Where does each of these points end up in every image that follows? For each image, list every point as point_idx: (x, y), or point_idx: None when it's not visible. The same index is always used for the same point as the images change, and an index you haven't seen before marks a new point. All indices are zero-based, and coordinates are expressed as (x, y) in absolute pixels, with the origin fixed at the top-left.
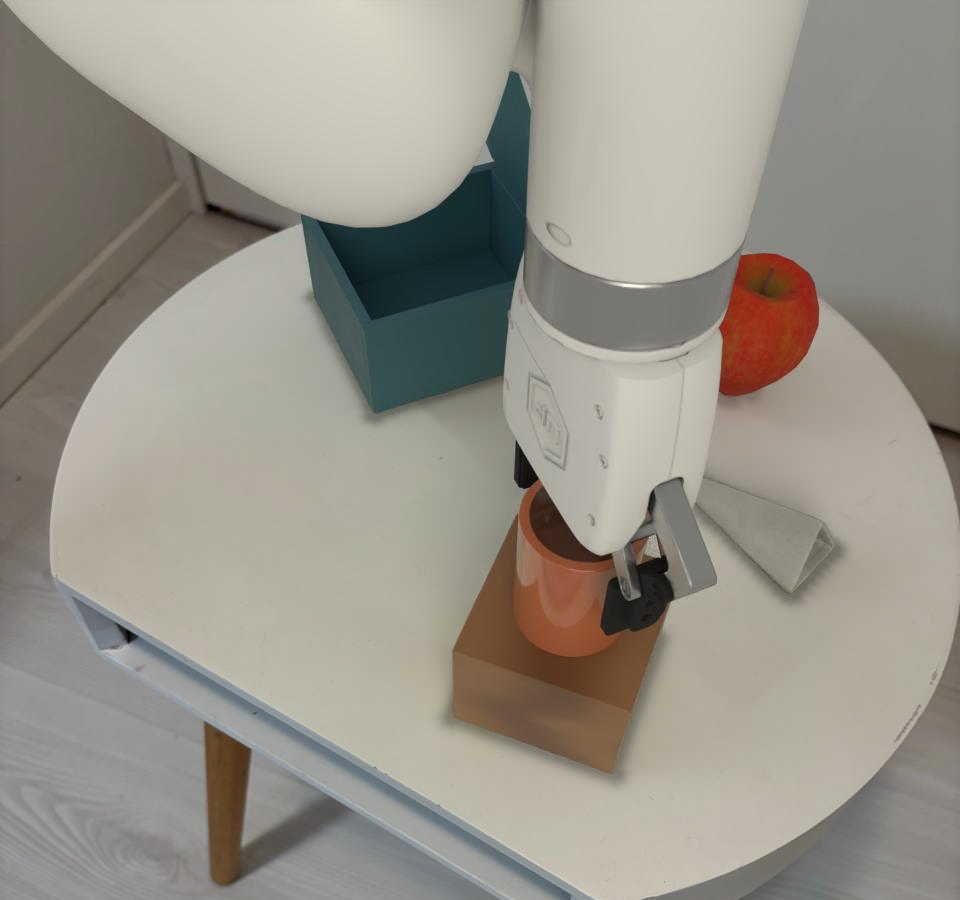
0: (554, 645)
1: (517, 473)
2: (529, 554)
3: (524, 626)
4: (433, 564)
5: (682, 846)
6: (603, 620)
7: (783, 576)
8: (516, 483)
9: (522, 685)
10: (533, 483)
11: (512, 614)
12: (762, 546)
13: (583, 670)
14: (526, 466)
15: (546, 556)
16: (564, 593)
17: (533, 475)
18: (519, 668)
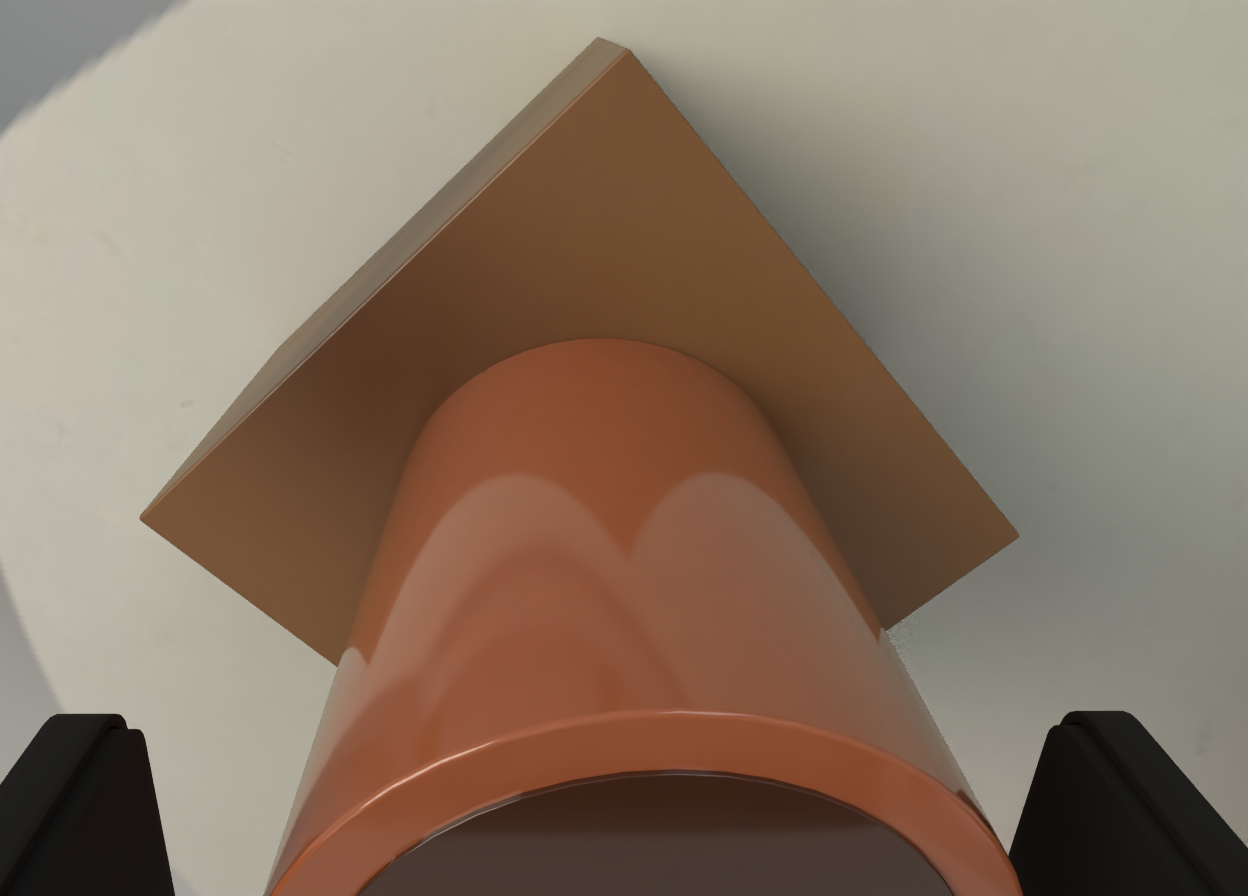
0: (443, 421)
1: (1149, 780)
2: (602, 648)
3: (568, 361)
4: (1062, 218)
5: (43, 407)
6: (44, 781)
7: None
8: (1103, 715)
9: (415, 243)
10: (1049, 781)
11: (664, 343)
12: None
13: (348, 458)
14: (1153, 872)
15: (470, 768)
16: (377, 649)
17: (1083, 826)
18: (441, 261)
